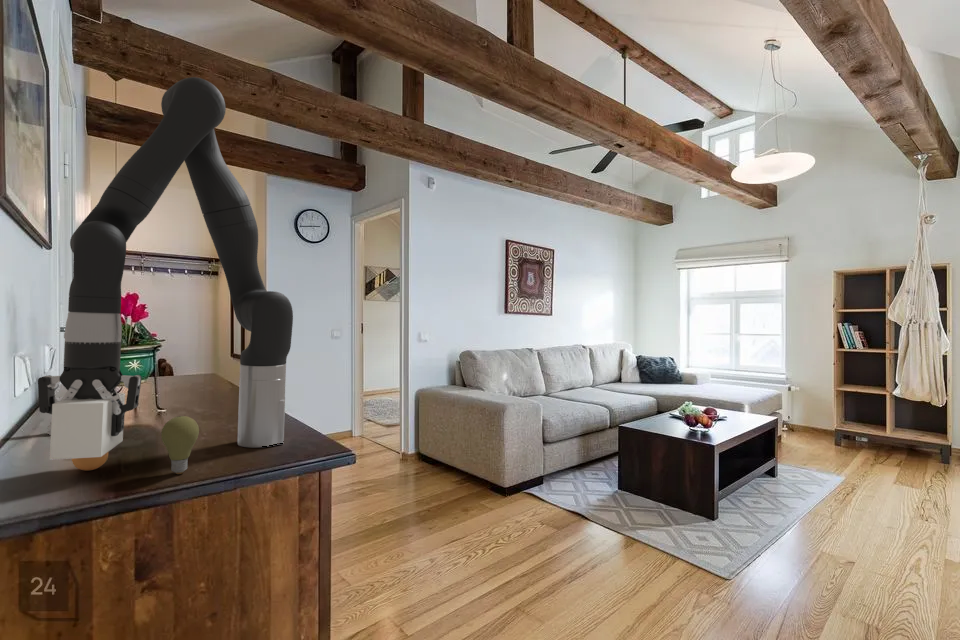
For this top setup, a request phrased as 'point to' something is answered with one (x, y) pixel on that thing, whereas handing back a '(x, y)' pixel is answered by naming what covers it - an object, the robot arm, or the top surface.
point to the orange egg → (90, 462)
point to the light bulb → (179, 441)
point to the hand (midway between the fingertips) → (89, 436)
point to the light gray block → (82, 428)
